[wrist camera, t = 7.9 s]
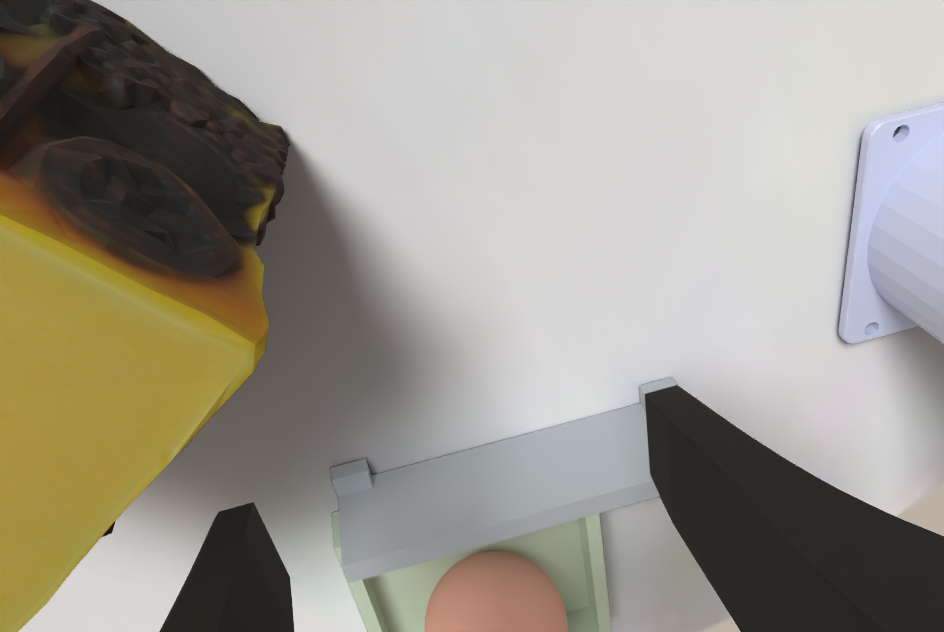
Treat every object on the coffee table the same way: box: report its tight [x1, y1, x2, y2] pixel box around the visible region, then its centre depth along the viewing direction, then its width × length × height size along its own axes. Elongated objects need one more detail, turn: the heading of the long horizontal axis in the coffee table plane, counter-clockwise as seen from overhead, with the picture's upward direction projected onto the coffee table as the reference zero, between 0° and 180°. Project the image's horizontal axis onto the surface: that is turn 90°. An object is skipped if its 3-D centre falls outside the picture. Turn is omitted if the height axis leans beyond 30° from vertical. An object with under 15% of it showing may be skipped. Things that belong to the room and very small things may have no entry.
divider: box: [330, 377, 678, 583], centre depth 25 cm, size 12×2×4 cm, turn 100°
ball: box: [425, 551, 568, 632], centre depth 26 cm, size 5×5×5 cm
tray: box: [332, 511, 612, 632], centre depth 28 cm, size 9×9×2 cm
